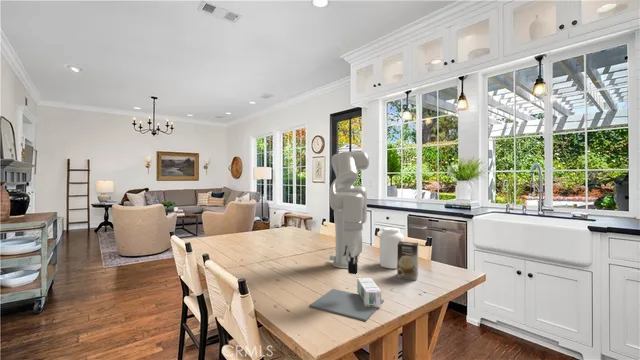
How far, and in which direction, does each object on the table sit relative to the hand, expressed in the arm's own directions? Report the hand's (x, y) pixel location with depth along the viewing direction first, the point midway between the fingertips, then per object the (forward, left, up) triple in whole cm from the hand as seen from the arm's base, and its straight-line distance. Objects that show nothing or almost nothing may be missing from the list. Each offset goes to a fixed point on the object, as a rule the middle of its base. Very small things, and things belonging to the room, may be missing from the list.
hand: (352, 273), depth 114 cm
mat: (0, -5, -10) cm, 11 cm away
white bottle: (0, +50, -10) cm, 51 cm away
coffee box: (+12, +36, -10) cm, 39 cm away
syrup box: (+2, +8, -7) cm, 10 cm away
